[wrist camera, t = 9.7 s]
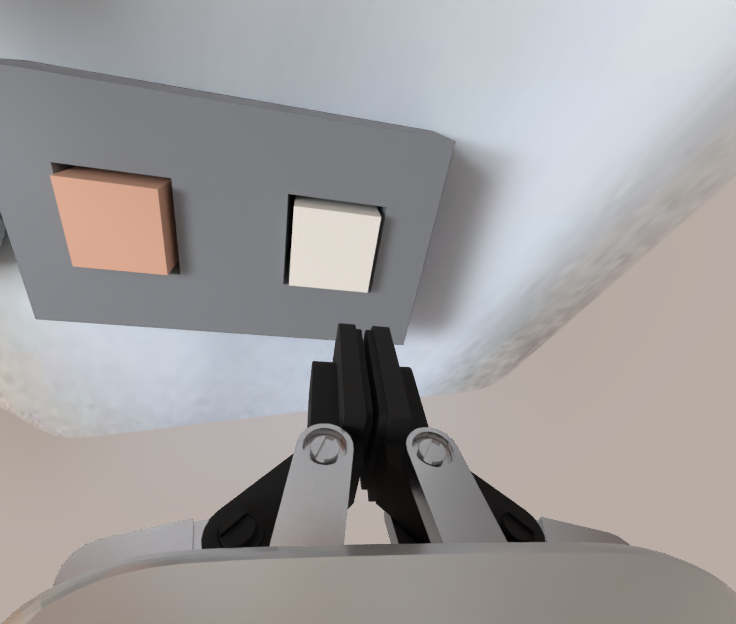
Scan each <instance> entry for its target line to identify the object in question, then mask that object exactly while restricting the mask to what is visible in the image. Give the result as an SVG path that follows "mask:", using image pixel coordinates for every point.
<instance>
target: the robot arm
mask: <svg viewBox="0 0 736 624" xmlns="http://www.w3.org/2000/svg"><path fill="white" fill-rule="evenodd" d="M359 478H360V481H361V488H362V489H365V490H368V500H369V501H376V504H377V505H379V506H380V507H381V508H382V509H383V510H384V511H385V512H384V519H385V524H386V527H387V531H388V534H389V538H390V542H391V544H369V545H367V544H366V545H344V538H345V529H346V520H347V510H348V508H349V507H350V506H351V505H352V504H353V503H354V498H355V494H356V490H357V486H358V482H359ZM2 624H736V592H735V591H733V590H732V589H731V588H730V587H729V586H727V584H725V583H724V582H722V581H721V580H719V579H718V578H717V577H715V576H714V575H712V574H710V573H709V572H706V571H705V570H703V569H701V568H699V567H697V566H695V565H693V564H690V563H688V562H686V561H683V560H681V559H678V558H675V557H673V556H670V555H667V554H665V553H661V552H657V551H653V550H649V549H645V548H641V547H636V546H630V545H629V544H628V543H627V542H625V541H624V540H623V539H621V538H620V537H618V536H616V535H613V534H611V533H608V532H603V531H600V530H595V529H591V528H587V527H582V526H578V525H574V524H570V523H565V522H561V521H557V520H553V519H548V518H544V517H541V518H540V519H539V520H535V519H534V517H532V516H531V515H530V514H529V513H528V512H527V511H526V510H524V509H523V508H521V507H520V506H519V505H517V504H516V503H515V502H513V501H512V500H510V499H509V498H508V497H506V496H505V495H503V494H502V493H500V492H499V491H498V490H496V489H495V488H493V487H492V486H491V485H489V484H488V483H486V482H485V481H484V480H482V479H481V478H479V477H478V476H477V475H475V474H474V473H472V472H471V471H470V469H469V467H468V466H467V464H466V462H465V460H464V458H463V456H462V454H461V452H460V450H459V448H458V446H457V445H456V444H455V442H454V441H453V439H451V438H450V437H449V436H448V435H447V434H445V433H444V432H442V431H440V430H438V429H434V428H429V427H428V424H427V420H426V417H425V413H424V410H423V407H422V404H421V400H420V396H419V393H418V389H417V386H416V383H415V379H414V376H413V372H412V370H411V368H410V367H399V363H398V359H397V355H396V351H395V348H394V344H393V340H392V336H391V332H390V328H389V327H381V326H372V328H371V330H365V334H364V339H363V337H362V330H361V329H356V325H355V324H344V323H339V324H338V328H337V335H336V342H335V349H334V356H333V362H318V361H313V362H312V370H311V379H310V390H309V404H308V426H307V429H305V430H304V432H302V433H301V434H300V436H299V438H298V440H297V443H296V447H295V451H294V454H292V455H291V456H290V457H288V458H287V459H286V460H284V461H283V462H282V463H281V464H279V465H278V466H277V467H275V468H274V469H273V470H271V471H270V472H269V473H267V474H266V475H265V476H263V477H262V478H261V479H259V480H258V481H257V482H255V483H254V484H253V485H251V486H250V487H249V488H247V489H246V490H245V491H243V492H242V493H241V494H240V495H238V496H237V497H236V498H234V499H233V500H232V501H230V502H229V503H228V504H226V505H225V506H224V507H222V508H221V509H220V510H218V511H217V512H216V513H215V514H214V516H212V517H211V518H210V519H207V520H203V521H198V522H194V521H193V519H188V520H183V521H179V522H174V523H169V524H165V525H160V526H156V527H151V528H147V529H143V530H138V531H133V532H129V533H124V534H120V535H115V536H111V537H106V538H102V539H98V540H96V541H93V542H90V543H88V544H85V545H84V546H83V547H81V548H80V549H78V550H77V551H75V552H74V553H73V554H72V555H71V556H70V557H69V558H68V559H67V560H66V562H65V563H64V564H63V565H62V566H61V568H60V570H59V573H58V575H57V577H56V579H55V582H54V586H53V587H52V588H50V589H48V590H46V591H44V592H43V593H41V594H39V595H38V596H36V597H34V598H33V599H31V600H30V601H28V602H27V603H25V604H23V605H22V606H21V607H20V608H19V609H17V610H16V611H14V612H13V613H12V614H11V615H10V616H9V617H8V618H7V619H6V620H5V621H4V622H2Z"/></svg>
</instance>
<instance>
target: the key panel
mask: <svg viewBox="0 0 736 624" xmlns="http://www.w3.org/2000/svg"><path fill="white" fill-rule="evenodd" d="M454 144H455V141H453V140H451V139H449V138H447V137H444V136H442V135H440V134H438V133H436V132H434V131H429V130H424V129H418V128H412V127H406V126H401V125H395V124H389V123H383V122H377V121H372V120H366V119H360V118H354V117H349V116H343V115H337V114H331V113H325V112H320V111H314V110H308V109H302V108H297V107H291V106H285V105H279V104H274V103H268V102H262V101H256V100H250V99H245V98H239V97H233V96H227V95H222V94H216V93H210V92H204V91H199V90H193V89H187V88H181V87H175V86H170V85H164V84H158V83H152V82H147V81H141V80H135V79H129V78H124V77H118V76H112V75H106V74H100V73H95V72H89V71H83V70H77V69H72V68H66V67H60V66H54V65H48V64H43V63H37V62H31V61H25V60H14V59H0V212H1V215H2V218H3V222H4V225H5V228H6V231H7V234H8V237H9V240H10V243H11V246H12V249H13V252H14V255H15V258H16V261H17V264H18V267H19V270H20V273H21V276H22V279H23V282H24V285H25V288H26V291H27V294H28V297H29V300H30V303H31V306H32V309H33V313H34V316H35V319H40V320H54V321H69V322H83V323H97V324H111V325H125V326H139V327H154V328H168V329H182V330H196V331H210V332H224V333H239V334H253V335H267V336H281V337H295V338H309V339H324V340H336V335H337V328H338V324H339V323H344V324H355V325H356V329H361V330H362V337H363V339H364V334H365V330H371V328H372V326H381V327H389V328H390V332H391V336H392V340H393V344H394V345H403V344H404V340H405V336H406V332H407V328H408V324H409V320H410V317H411V313H412V309H413V305H414V301H415V297H416V293H417V289H418V285H419V281H420V277H421V273H422V270H423V266H424V262H425V258H426V254H427V250H428V246H429V242H430V238H431V234H432V230H433V227H434V223H435V219H436V215H437V211H438V207H439V203H440V199H441V195H442V191H443V187H444V183H445V180H446V176H447V172H448V168H449V164H450V160H451V156H452V152H453V148H454ZM75 166H83V167H91V168H98V169H106V170H113V171H121V172H128V173H136V174H143V175H151V176H158V177H165V178H171V181H172V191H173V202H174V212H175V222H176V233H177V243H178V253H179V261H178V262H177V264H176V265H175V266H174V268H173V269H172V270H171V271H170V273H169V274H168V275H160V274H149V273H138V272H127V271H117V270H106V269H95V268H84V267H74V266H72V262H71V258H70V254H69V250H68V246H67V242H66V238H65V234H64V230H63V226H62V222H61V218H60V214H59V210H58V206H57V202H56V198H55V194H54V190H53V186H52V182H51V178H50V175H52V174H55V173H58V172H61V171H63V170H66V169H69V168H72V167H75ZM292 195H300V196H307V197H314V198H322V199H329V200H337V201H344V202H352V203H359V204H367V205H374V206H377V209H378V211H379V213H380V215H381V222H380V227H379V233H378V238H377V244H376V249H375V255H374V260H373V266H372V271H371V277H370V282H369V288H368V293H365V292H354V291H343V290H333V289H322V288H311V287H301V286H290V285H289V274H290V258H291V254H289V240H290V223H291V206H292Z"/></svg>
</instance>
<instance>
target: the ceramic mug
mask: <svg viewBox="0 0 736 624" xmlns="http://www.w3.org/2000/svg"><path fill="white" fill-rule="evenodd" d="M4 235H5V225H4V222H3V221H2V219H1V217H0V247H1V245H2V242H3V238H4Z"/></svg>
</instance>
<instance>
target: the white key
mask: <svg viewBox="0 0 736 624" xmlns="http://www.w3.org/2000/svg"><path fill="white" fill-rule="evenodd" d="M380 222H381V215H380V213H379V211H378V209H377V206H374V205H367V204H359V203H352V202H344V201H337V200H329V199H322V198H314V197H307V196H300V195H296V198H295V203H294V211H293V227H292V242H291V258H290V274H289V285H290V286H301V287H311V288H322V289H333V290H343V291H354V292H365V293H368V288H369V282H370V277H371V271H372V266H373V260H374V255H375V249H376V244H377V238H378V233H379V227H380Z"/></svg>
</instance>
